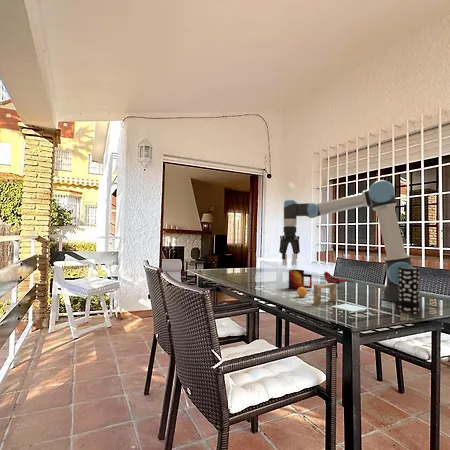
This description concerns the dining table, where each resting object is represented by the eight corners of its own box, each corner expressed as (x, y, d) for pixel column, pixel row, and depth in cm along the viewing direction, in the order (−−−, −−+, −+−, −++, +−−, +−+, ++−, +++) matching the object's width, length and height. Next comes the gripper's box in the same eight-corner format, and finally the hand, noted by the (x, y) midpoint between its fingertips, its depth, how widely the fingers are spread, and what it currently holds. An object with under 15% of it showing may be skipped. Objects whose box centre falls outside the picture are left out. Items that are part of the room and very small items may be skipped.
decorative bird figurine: (324, 285, 214) (324, 271, 215) (348, 289, 201) (348, 273, 201) (321, 285, 212) (322, 271, 213) (346, 289, 199) (346, 274, 200)
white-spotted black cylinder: (394, 309, 145) (394, 267, 145) (410, 309, 145) (410, 267, 146) (406, 313, 136) (406, 269, 137) (423, 313, 137) (423, 269, 138)
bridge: (336, 301, 160) (336, 283, 160) (318, 304, 152) (318, 285, 153) (331, 300, 163) (331, 283, 163) (313, 303, 155) (313, 284, 155)
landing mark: (368, 309, 144) (368, 308, 144) (352, 312, 137) (352, 311, 137) (345, 304, 154) (345, 303, 154) (330, 306, 147) (330, 306, 147)
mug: (312, 290, 193) (312, 271, 194) (290, 290, 193) (290, 271, 193) (307, 287, 203) (308, 269, 203) (287, 287, 203) (287, 269, 203)
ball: (309, 297, 170) (309, 287, 170) (302, 298, 167) (302, 288, 167) (301, 295, 175) (301, 285, 175) (294, 296, 172) (294, 286, 172)
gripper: (297, 226, 189) (296, 263, 188) (273, 225, 178) (272, 264, 178) (306, 226, 183) (306, 264, 182) (281, 225, 172) (281, 265, 171)
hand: (289, 264), depth 180 cm, fingers open, 7 cm apart
